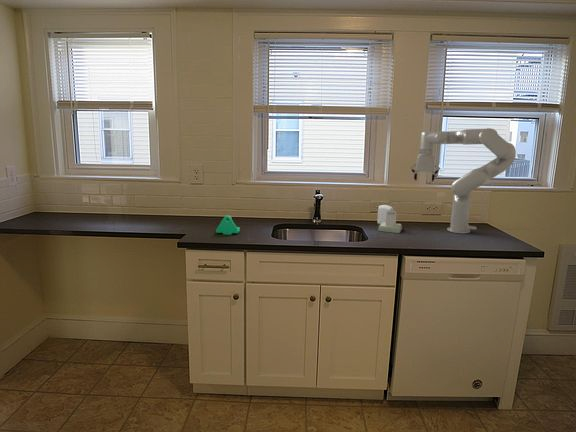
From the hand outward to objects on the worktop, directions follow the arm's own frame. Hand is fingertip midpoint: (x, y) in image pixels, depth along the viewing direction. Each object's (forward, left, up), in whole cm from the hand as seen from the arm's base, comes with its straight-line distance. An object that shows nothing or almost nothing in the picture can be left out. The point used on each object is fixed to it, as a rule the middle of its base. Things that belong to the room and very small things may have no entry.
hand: (424, 180), depth 248 cm
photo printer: (+21, +5, -28) cm, 36 cm away
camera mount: (+99, +66, -29) cm, 122 cm away
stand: (+16, +19, -28) cm, 38 cm away
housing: (+16, +19, -25) cm, 35 cm away
